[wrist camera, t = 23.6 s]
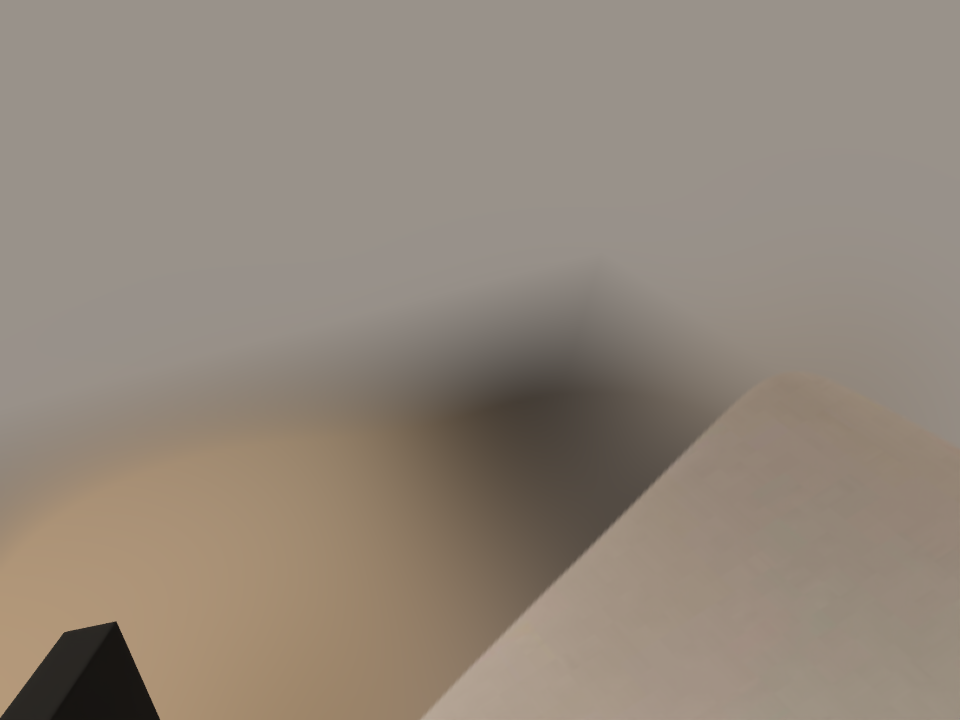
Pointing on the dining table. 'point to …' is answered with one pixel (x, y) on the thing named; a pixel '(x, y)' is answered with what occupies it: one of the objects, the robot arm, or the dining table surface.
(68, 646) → the robot arm
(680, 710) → the dining table surface
